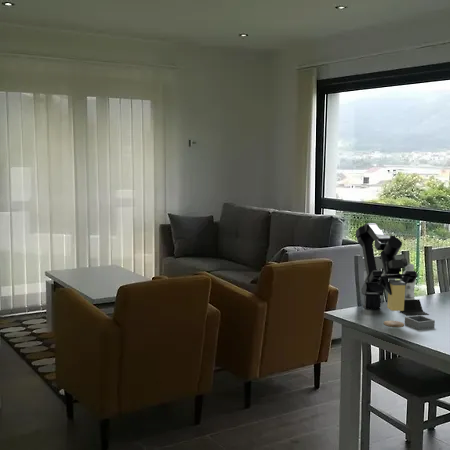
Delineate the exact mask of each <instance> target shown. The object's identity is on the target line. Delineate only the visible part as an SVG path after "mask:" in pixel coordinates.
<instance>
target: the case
mask: <svg viewBox="0 0 450 450" xmlns="http://www.w3.org/2000/svg"><path fill="white" fill-rule="evenodd" d="M404 325H405V326H408V327H411V328H413V329H416V330H427V329H433V328H435V325H436V324H435V319H432V318H429V317H428V316H427V317H426V316H425V315H415V316H404Z"/></svg>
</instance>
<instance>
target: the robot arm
mask: <svg viewBox="0 0 450 450" xmlns="http://www.w3.org/2000/svg"><path fill="white" fill-rule="evenodd" d="M355 238H356V240H357V243H358V245H360V246H361V248H362V249H361V250H362V253H363V255H362V256H363V261H364V265H365V272H366V277H365V278H364V280H363V281H364V283H363V285H362V286H361V294H362V295H363V296H364V300H363V304H362V306H363V307H364V308H365V310H381V306H382V305H381V304H382V303H381V302H382V301H381V300H382V299H381V298H380V297H381V296H384V293H385V291H386V292H387V294H388V293H389V294H390V295H392V291H391V287H390V284H389V280H401V281H403V282H405V288H406V284H407V283H413V282H414V281H415V279H416V280H417V277H418V273H417V271H416V270H414V271H406V272H405V274H403V273H401V272H402V269H405V267H406V266H407V265H408V264H409V263H408V260H407V258H401V259H396V256H397V255H398V254H399V252H400V249H401V247H402V246H403V243H402V242H403V241H401V240H400V239H399V237H398V238H397V237H396V235H387V234H385V233H383V231H382V229H380V228H379V226H378V224H377V223H375V222H366V223H365V224H364V225H362V226H359V227H358V228H357V229H356V231H355ZM373 244H374V246H373ZM374 248H375V249H376V250H377V251H381V252H380V254H379V260H381V263H382V270H378V269H377V263H376V258H375V251H374ZM415 282H416V281H415Z"/></svg>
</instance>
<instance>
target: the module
mask: <svg viewBox="0 0 450 450" xmlns="http://www.w3.org/2000/svg"><path fill="white" fill-rule="evenodd" d="M389 284H390V287H391V291H392V295H390V294H389V293H388V292H387V306H386V308H387V309H389V310H390V311H393V312H394V311H395V312H400V311H404V299H405V282H403V281H401V280H400V279H389Z"/></svg>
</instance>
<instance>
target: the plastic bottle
mask: <svg viewBox="0 0 450 450" xmlns="http://www.w3.org/2000/svg"><path fill="white" fill-rule="evenodd" d="M407 264H408V265H407V266H406V267H404V269H405V270H404V271H403V272H402V274H405V272H406V271H415V270H414V269H415V268H414V267H415V266H414V264H413V263H407ZM416 281H417V278H416V279H415V281H414V282H413V283H407V284H406V288H405V299H404V300H416V299H415V287H416V286H415V285H416Z"/></svg>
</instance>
